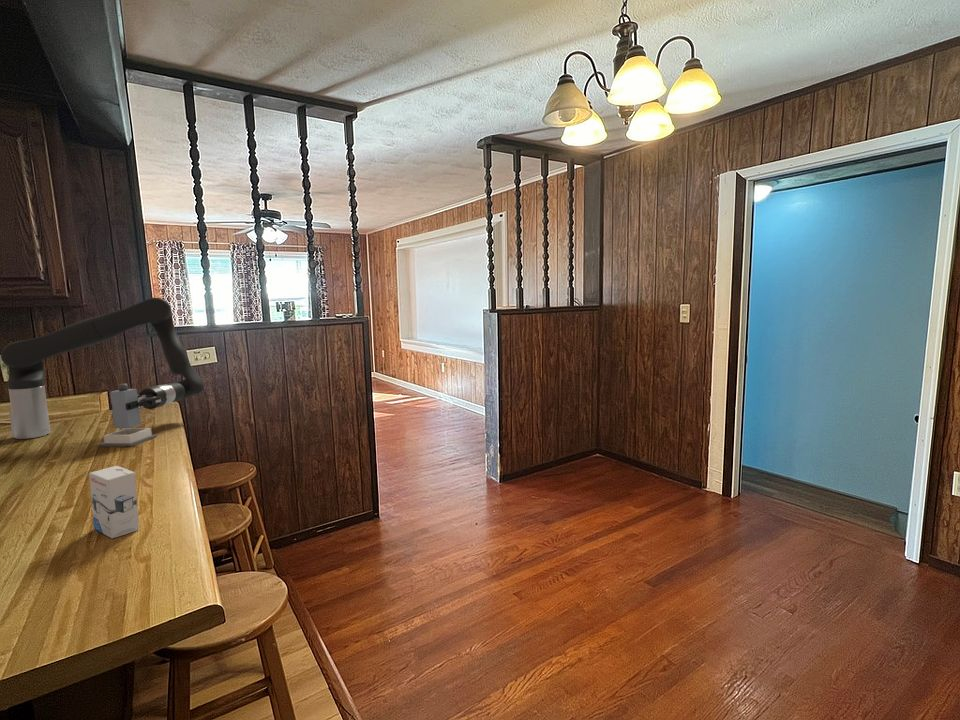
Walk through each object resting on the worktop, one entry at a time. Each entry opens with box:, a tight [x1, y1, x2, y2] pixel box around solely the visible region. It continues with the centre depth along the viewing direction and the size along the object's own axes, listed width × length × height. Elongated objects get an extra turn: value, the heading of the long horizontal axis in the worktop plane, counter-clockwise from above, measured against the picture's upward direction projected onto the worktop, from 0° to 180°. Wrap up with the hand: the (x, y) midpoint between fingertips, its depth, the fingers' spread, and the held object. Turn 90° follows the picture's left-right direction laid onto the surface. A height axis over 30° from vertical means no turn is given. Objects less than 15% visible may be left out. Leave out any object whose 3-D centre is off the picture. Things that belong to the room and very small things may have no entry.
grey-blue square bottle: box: [109, 383, 142, 429], centre depth 160 cm, size 5×5×14 cm
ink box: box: [88, 465, 140, 539], centre depth 97 cm, size 9×5×12 cm, turn 58°
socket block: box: [98, 427, 158, 447], centre depth 161 cm, size 11×11×3 cm
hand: (118, 407), depth 157 cm, fingers closed on grey-blue square bottle, 5 cm apart
